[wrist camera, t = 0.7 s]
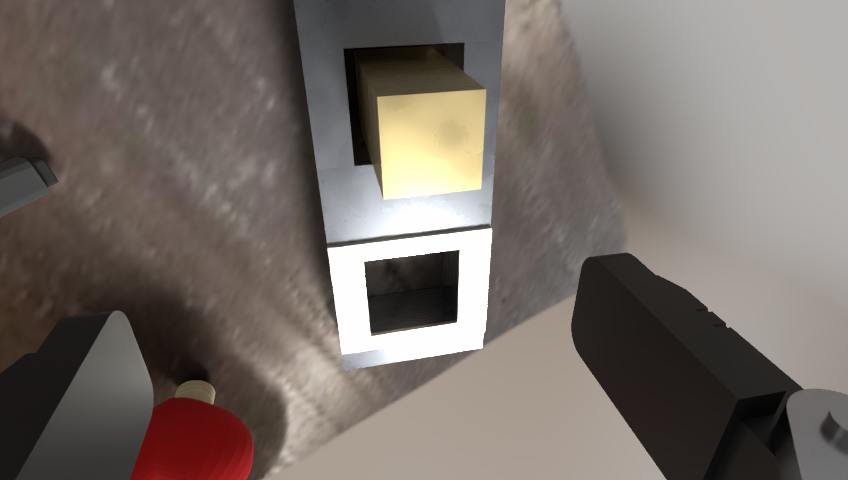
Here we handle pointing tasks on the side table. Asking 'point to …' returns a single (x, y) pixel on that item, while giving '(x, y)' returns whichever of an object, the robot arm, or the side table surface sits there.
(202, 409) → the red two-lobed part
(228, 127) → the side table surface
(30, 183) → the hand grip strengthener
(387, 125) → the brass block
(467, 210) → the grey peg holder block
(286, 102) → the side table surface
